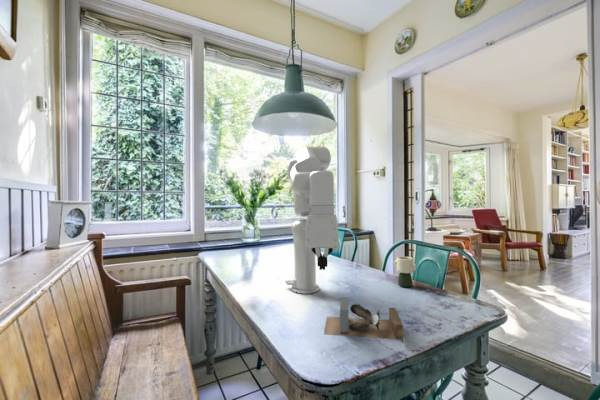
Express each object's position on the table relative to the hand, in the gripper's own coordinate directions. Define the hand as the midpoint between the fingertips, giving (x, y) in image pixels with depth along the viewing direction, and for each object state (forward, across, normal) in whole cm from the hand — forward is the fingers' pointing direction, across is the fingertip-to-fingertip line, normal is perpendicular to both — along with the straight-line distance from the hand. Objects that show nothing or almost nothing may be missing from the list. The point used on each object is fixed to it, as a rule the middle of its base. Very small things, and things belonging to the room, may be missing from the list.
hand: (322, 268), depth 87 cm
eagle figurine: (+18, +13, -2) cm, 22 cm away
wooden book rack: (+19, +12, -1) cm, 22 cm away
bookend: (+17, +7, -1) cm, 19 cm away
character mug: (+20, +34, +46) cm, 61 cm away
